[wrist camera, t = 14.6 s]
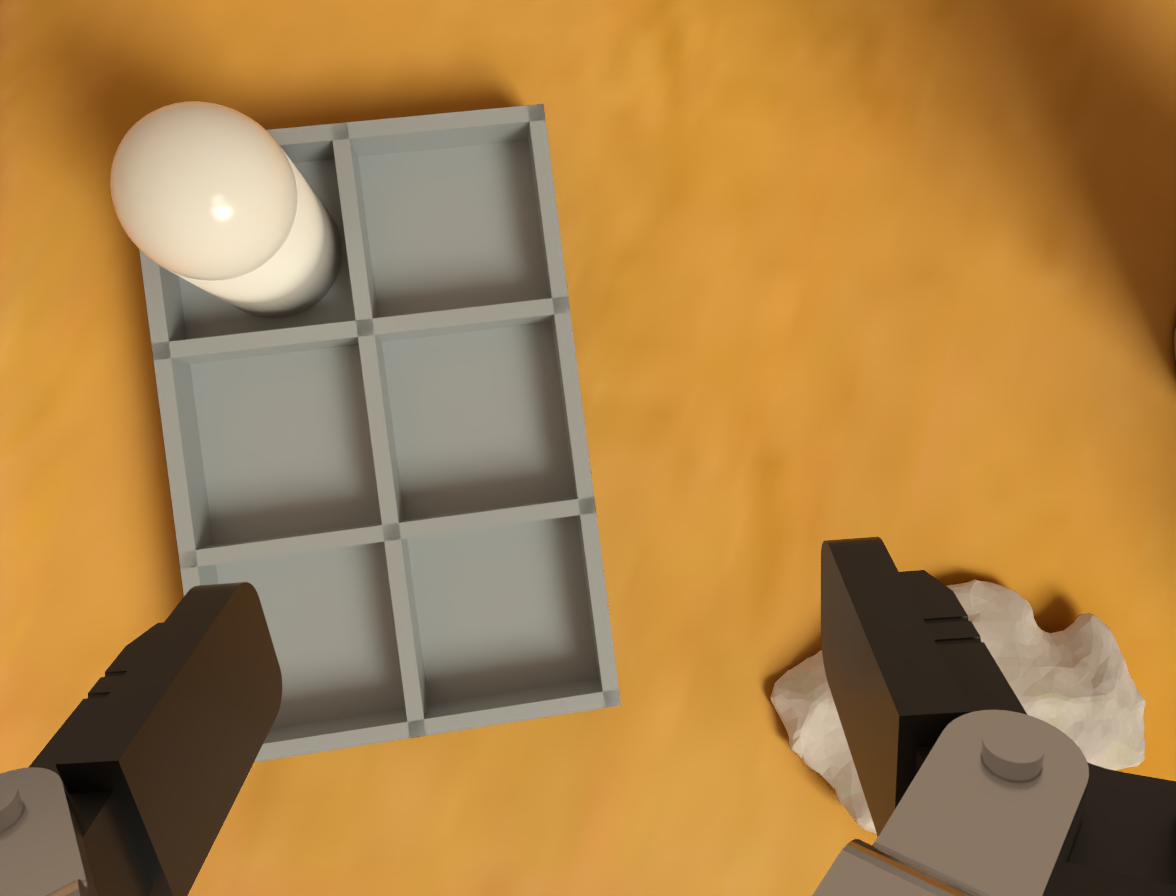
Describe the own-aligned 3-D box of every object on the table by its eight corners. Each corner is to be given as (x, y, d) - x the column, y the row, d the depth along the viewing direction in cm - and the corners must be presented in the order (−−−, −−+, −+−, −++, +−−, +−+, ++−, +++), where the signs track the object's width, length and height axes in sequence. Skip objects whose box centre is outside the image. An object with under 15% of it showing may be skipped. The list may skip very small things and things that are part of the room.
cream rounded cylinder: (334, 176, 35) (262, 63, 25) (348, 311, 35) (282, 251, 25) (195, 188, 35) (66, 78, 25) (210, 324, 35) (87, 268, 25)
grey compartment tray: (540, 129, 36) (543, 103, 34) (612, 687, 36) (620, 705, 34) (153, 166, 35) (125, 143, 33) (228, 746, 35) (206, 769, 33)
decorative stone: (1107, 573, 39) (755, 587, 39) (1162, 572, 35) (772, 587, 35) (1140, 841, 37) (773, 855, 37) (1200, 870, 34) (793, 885, 34)
